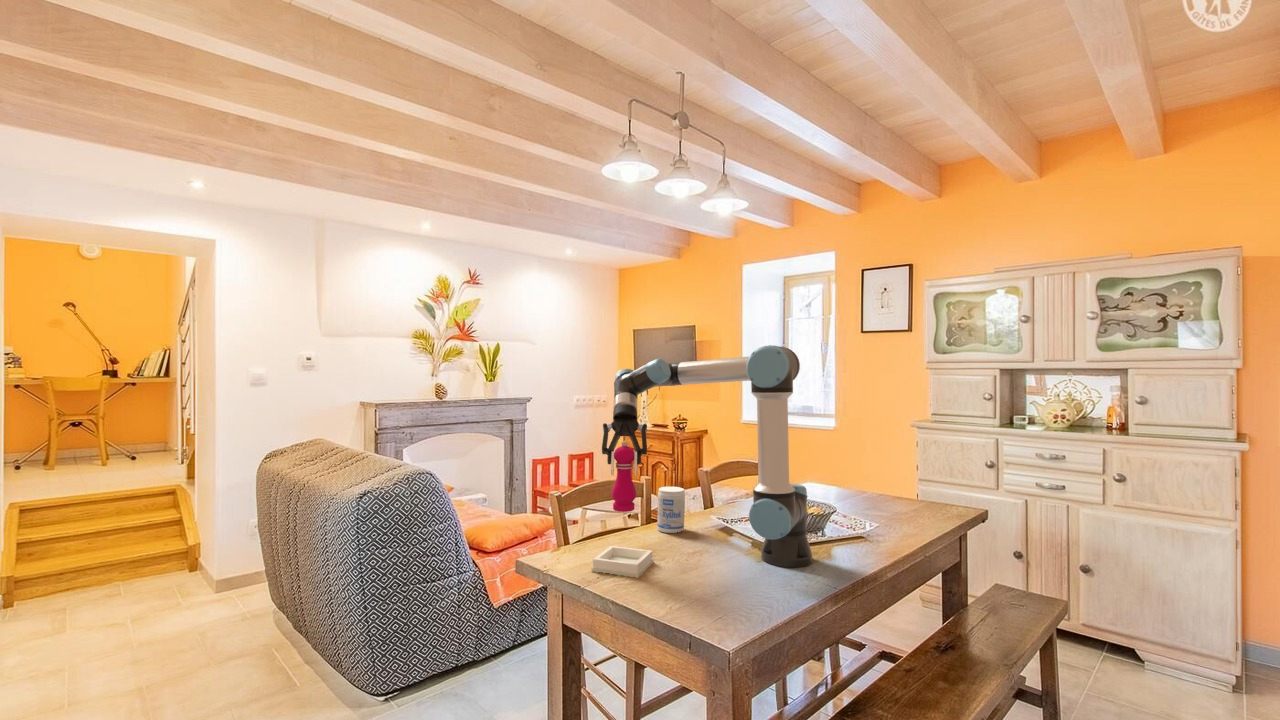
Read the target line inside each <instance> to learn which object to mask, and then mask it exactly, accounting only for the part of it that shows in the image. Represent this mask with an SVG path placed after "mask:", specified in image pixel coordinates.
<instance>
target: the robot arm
mask: <svg viewBox="0 0 1280 720" xmlns="http://www.w3.org/2000/svg"><path fill="white" fill-rule="evenodd" d="M800 367H801V364H800V360H799V357H798V355H797V354H796V353H795V352H794V351H793V350H792V349H790V348H788V347H785V346H779V345H771V344H769V345H764V346H761V347H760V346H759V347H758V348H755V350H753V351H752V352H751V354H750V355H749V356H740V357H728V358H717V359H706V360H695V361H693V360H692V361H691V360H690V361H682V362H669V363H667V361H666V360H664V359H663V358H660V357H658V358H656V359H654V360H650V361H649V362H648V363H646V364H644V365H642V366H640V367H638V368H637V369H634V370H633V369H632V368H626V369H624V368H621V369H620V370H618V371H617V372H616V374H615V376H614V383H613V386H614V387H613V392H614V394H613V395H614V396H613V407H612V408H613V411H612V412H613V413H612V414H613V415H612V421H611V423H610V424H609V423H608V424H607V423H603V424H602V431H603V436H602V437H603V438H602V443H601V453H602V455H607V459H606V460H607V465H610V476H614V475H615V474H614V473H615V458H614V452H615V450H616V447H617V444H618V442H619V440H620V438H621V437H628V438H629V439H630V440H631V443H632V446H633V450H634V459H633V461H634V463H633V465H634V466H633V469H634V471H633V473H634V476H636V477H637V476H638V474H637V473H638V466H639V465H641V464H642V456H643V455H644V456H646V455H647V454H648V444H647V441H648V440H647V432H648V431H647V430H648V425H647V423H643V424H640V422H639V421H638V395H641V394H642V393H644V392H647V391H648V390H651V389H652V388H656V387H666V386H667V387H672V386H673V387H674V386H684V385H685V386H686V385H699V384H700V385H701V384H716V383H731V382H747V381H749V382H750V384H751V385H750V386H751V395H753V396H754V397H755V399H756V412H757V413H756V414H757V415H756V416H757V419H756V420H757V471H758V472H757V473H758V475H757V476H758V479H757V480H758V481H757V483H756V484H755V486H753V489H752V492H753V494H752V495H753V496H752V497H753V498H752V501H753V504H751V506H750V508H749V512H748V521H749V525H750V526H751V528H752V530H753V531H754V532H755V533H756V534H757V535H758V536H760V537H762V538H764V541H763V544H762V546H761V550H760V551H761V552H760V553H761V556H760V557H761V560H762V561H763V562H766V563H768V564H770V565H773V566H778V567H784V568H801V567H802V568H803V567H807V566H810V565H812V564H813V552H812V549H811V546H810V543H809V540H808V537H807V535H808V534H807V529H808V528H807V526H808V524H807V523H808V522H807V514H808V513H807V511H808V506H807V505H808V504H807V503H808V492H807V488H806V487H805V486H804V485H801V484H796V483H790V457H789V455H790V454H789V451H790V450H789V448H790V447H789V445H790V444H789V405H788V403H789V401H788V399H789V398H790V397H791V396H792V394H794V380H796V378H797V377H798V374H799V373H800ZM611 429H612V431H614V434H613V437H612V439H611V441H610V444H609V446H608V443H609V442H608V440H609V433H610V432H611ZM638 429H639V432H640V433H641V436H640V437H641V446H640V443H639V441H638V438H637V436H636V433H635V432H637V431H638ZM809 564H810V565H809ZM806 565H807V566H806Z"/></svg>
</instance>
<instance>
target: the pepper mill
mask: <svg viewBox="0 0 1280 720" xmlns="http://www.w3.org/2000/svg"><path fill="white" fill-rule="evenodd" d="M620 445H621V446H618V447H617V448H615V449H614V461H616V463H615V468H616V477H615V481H614V485H613V487H612V489H611V497H612V498H611V499H613V501H614V502H613V503H612V509H613V511H615V512H617V513H618V512H619V513H627V512H629V513H630V512H633V511H634V510H635V506H636V505H635V503H634V501H635V499H636V498H637V491H636V487H635V484H634V481H633V478H632V469H634V466H633V465H634V463H633V461H634V452H635V450H634V448H632V447H630V446H628V442H627V441H626V440H623V441H622V442H621V444H620Z"/></svg>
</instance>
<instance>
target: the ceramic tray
mask: <svg viewBox="0 0 1280 720" xmlns="http://www.w3.org/2000/svg"><path fill="white" fill-rule="evenodd" d="M653 551H654V550H649V549H640V548H633V547H632V548H631V547H624V546H623V547H622V546H616V545H610V546H608V547H607V548H606V549H605V550H603V551H602V552H600V553H599V554H598V555H597V556H595V557H594V558H592V567H591V572H592V571H595V572H594V573H598V572H603V573H602V574H605V573H610V574H609V575H612V574H617V575H616V576H620V575H624V576H623V577H627V576H630V577H629V578H634V577H635V578H637V579H639V577H640V576H642V574H644V572H646V570H648V569H649V568H650V567H651V565H653V564H654V562H655V559H654V558H653V553H654V552H653Z"/></svg>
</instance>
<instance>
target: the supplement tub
mask: <svg viewBox="0 0 1280 720" xmlns="http://www.w3.org/2000/svg"><path fill="white" fill-rule="evenodd" d="M685 495H686V493H685V489H684V488H682V487H679V486H662V487H659V488H658V493H657V523H656V524H657V530H658V531H660V532H662V533H666V534H678V533H681V531H682V532H683V531H684V530H685V507H686V506H685V503H686V501H685V498H686V496H685ZM677 532H678V533H677Z"/></svg>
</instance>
